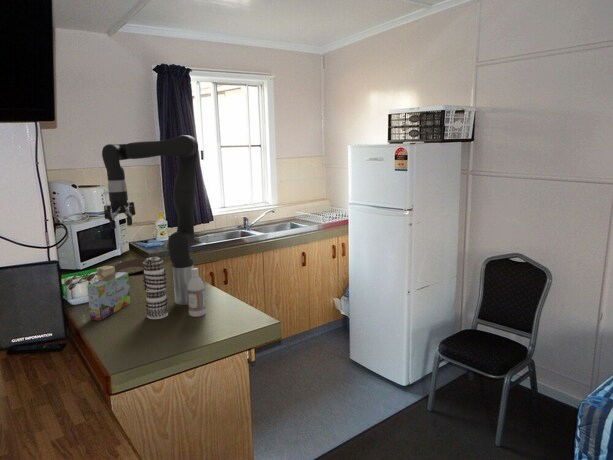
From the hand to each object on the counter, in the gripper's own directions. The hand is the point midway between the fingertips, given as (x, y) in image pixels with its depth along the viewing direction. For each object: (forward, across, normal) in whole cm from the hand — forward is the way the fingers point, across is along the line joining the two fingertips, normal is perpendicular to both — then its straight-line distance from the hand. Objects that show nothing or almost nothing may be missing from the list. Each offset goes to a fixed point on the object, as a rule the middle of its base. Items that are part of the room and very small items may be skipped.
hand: (121, 226), depth 194 cm
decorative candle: (+36, -6, -24) cm, 43 cm away
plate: (+36, +41, +46) cm, 71 cm away
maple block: (+21, -12, -2) cm, 24 cm away
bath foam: (+36, +3, -38) cm, 53 cm away
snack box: (+36, -11, -1) cm, 38 cm away
